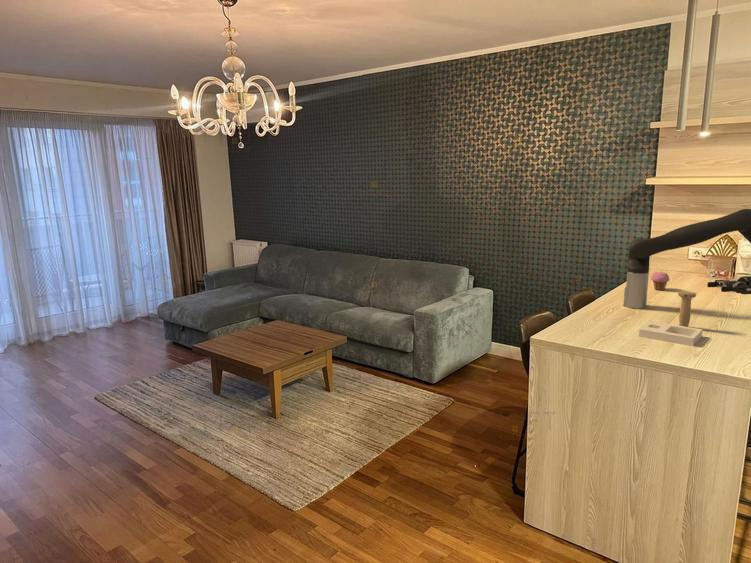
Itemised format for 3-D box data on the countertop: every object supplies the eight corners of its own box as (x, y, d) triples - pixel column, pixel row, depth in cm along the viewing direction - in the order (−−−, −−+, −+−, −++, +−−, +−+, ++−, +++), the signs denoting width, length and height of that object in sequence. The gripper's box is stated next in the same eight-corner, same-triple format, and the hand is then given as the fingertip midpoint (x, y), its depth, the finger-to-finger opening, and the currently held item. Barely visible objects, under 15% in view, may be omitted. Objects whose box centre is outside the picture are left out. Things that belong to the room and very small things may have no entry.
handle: (676, 324, 216) (679, 290, 213) (693, 326, 212) (696, 292, 209) (674, 327, 212) (677, 293, 209) (691, 329, 208) (695, 294, 205)
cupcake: (668, 292, 269) (669, 273, 267) (649, 290, 274) (651, 272, 271) (668, 288, 276) (670, 270, 274) (650, 287, 281) (652, 269, 279)
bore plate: (638, 336, 203) (639, 329, 203) (649, 327, 213) (650, 320, 212) (692, 346, 190) (693, 338, 190) (701, 336, 200) (702, 329, 199)
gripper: (742, 272, 215) (704, 274, 214) (767, 279, 201) (727, 281, 201) (740, 289, 216) (702, 291, 216) (765, 297, 202) (725, 299, 202)
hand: (714, 287), depth 208 cm, fingers open, 8 cm apart
